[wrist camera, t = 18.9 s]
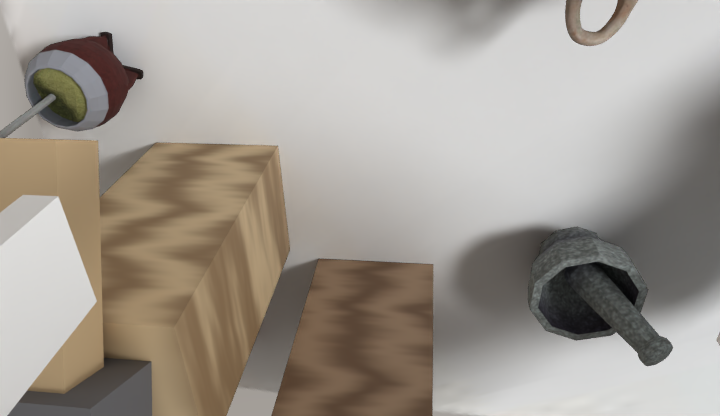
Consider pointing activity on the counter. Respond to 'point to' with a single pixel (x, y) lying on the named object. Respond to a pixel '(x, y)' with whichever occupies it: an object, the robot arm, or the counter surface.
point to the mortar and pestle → (592, 293)
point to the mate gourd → (76, 84)
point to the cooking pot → (595, 38)
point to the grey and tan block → (85, 345)
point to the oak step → (192, 267)
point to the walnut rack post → (362, 343)
